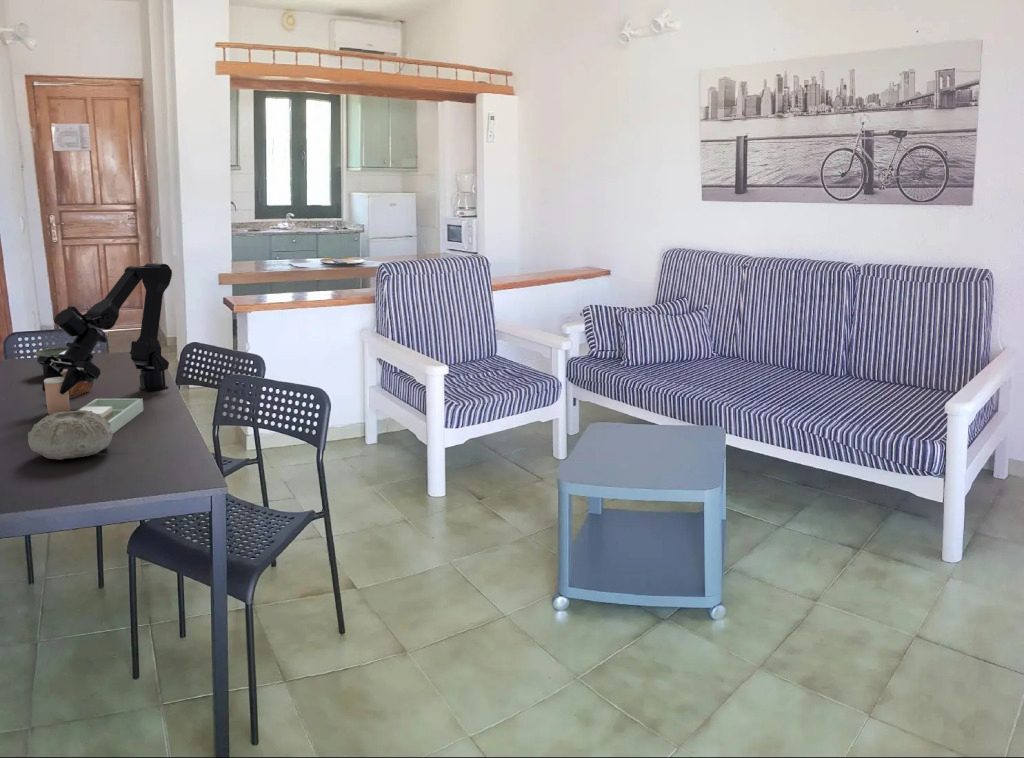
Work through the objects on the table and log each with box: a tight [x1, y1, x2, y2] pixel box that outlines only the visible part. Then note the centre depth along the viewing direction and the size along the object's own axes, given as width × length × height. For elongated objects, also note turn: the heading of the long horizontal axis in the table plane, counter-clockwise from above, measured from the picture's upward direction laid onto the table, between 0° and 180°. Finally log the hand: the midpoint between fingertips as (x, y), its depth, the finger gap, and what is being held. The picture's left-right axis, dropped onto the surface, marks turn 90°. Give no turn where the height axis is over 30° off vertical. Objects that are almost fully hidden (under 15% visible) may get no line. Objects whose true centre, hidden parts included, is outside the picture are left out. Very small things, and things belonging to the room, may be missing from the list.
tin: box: [60, 370, 94, 400], centre depth 253 cm, size 15×3×8 cm, turn 168°
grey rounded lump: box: [27, 409, 114, 461], centre depth 199 cm, size 18×18×10 cm
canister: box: [44, 377, 72, 416], centre depth 233 cm, size 6×6×10 cm
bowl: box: [34, 347, 68, 369], centre depth 280 cm, size 14×13×8 cm
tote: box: [78, 398, 144, 434], centre depth 224 cm, size 24×13×4 cm, turn 5°
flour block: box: [79, 406, 113, 421], centre depth 218 cm, size 7×7×5 cm
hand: (52, 392), depth 231 cm, fingers open, 6 cm apart
